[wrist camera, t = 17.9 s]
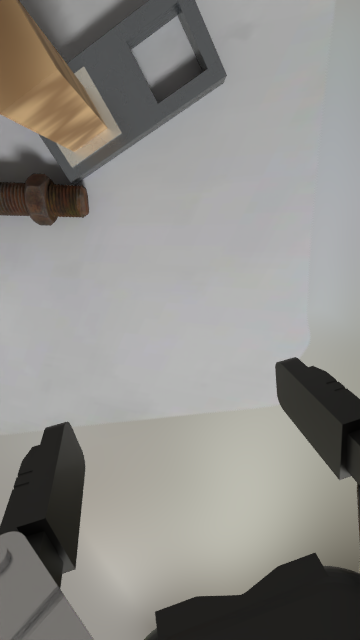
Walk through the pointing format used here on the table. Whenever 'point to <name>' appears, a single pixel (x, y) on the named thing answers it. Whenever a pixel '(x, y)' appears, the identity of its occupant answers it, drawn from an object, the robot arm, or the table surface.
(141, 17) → the socket plate
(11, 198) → the bolt
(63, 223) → the table surface
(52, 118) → the wooden peg
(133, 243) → the table surface
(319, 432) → the robot arm
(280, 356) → the table surface
